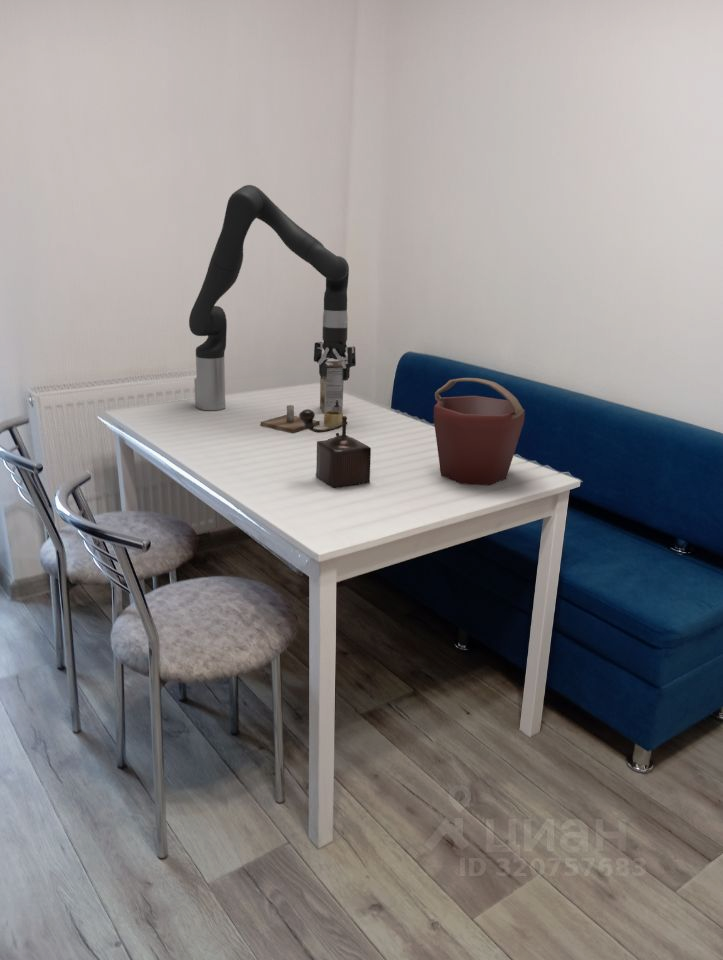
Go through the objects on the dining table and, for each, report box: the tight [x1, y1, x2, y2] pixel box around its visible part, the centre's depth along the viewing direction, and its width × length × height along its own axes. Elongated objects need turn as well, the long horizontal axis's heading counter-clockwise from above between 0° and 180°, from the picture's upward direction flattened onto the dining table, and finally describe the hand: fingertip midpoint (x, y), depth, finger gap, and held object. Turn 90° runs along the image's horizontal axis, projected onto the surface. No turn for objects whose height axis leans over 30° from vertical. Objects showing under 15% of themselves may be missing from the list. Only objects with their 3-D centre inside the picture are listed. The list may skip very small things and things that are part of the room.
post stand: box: [260, 404, 320, 434], centre depth 249 cm, size 13×13×6 cm
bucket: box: [433, 377, 526, 486], centre depth 205 cm, size 24×22×25 cm
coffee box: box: [319, 360, 344, 413], centre depth 267 cm, size 9×6×16 cm
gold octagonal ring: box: [323, 411, 344, 428], centre depth 251 cm, size 6×6×4 cm
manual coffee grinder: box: [298, 408, 372, 489], centre depth 198 cm, size 16×11×18 cm
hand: (334, 378), depth 246 cm, fingers open, 8 cm apart
